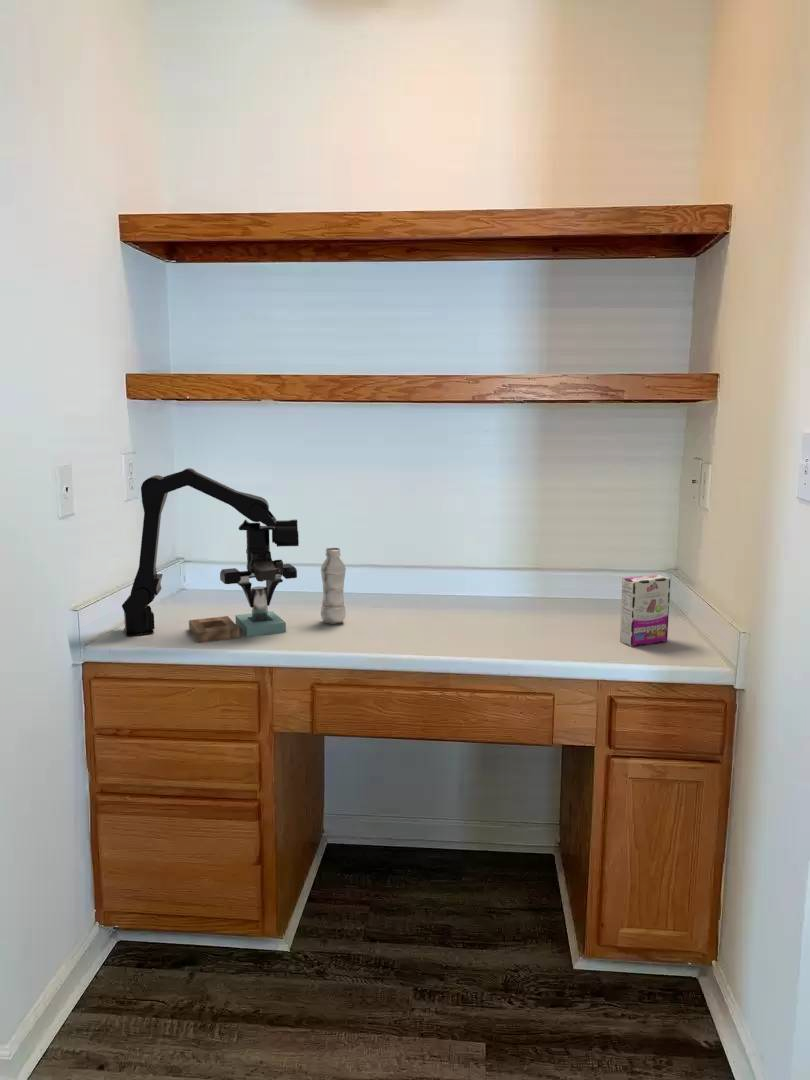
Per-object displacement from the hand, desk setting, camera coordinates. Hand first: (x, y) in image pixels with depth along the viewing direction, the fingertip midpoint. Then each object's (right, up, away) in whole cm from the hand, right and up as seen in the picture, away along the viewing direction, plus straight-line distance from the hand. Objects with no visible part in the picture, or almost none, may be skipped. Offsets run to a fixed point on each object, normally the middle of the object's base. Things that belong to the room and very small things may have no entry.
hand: (259, 606), depth 203 cm
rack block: (0, -6, +1) cm, 6 cm away
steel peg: (0, -3, +1) cm, 3 cm away
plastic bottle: (+18, -5, +7) cm, 20 cm away
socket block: (-11, -7, -4) cm, 13 cm away
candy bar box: (+96, -8, -8) cm, 97 cm away
